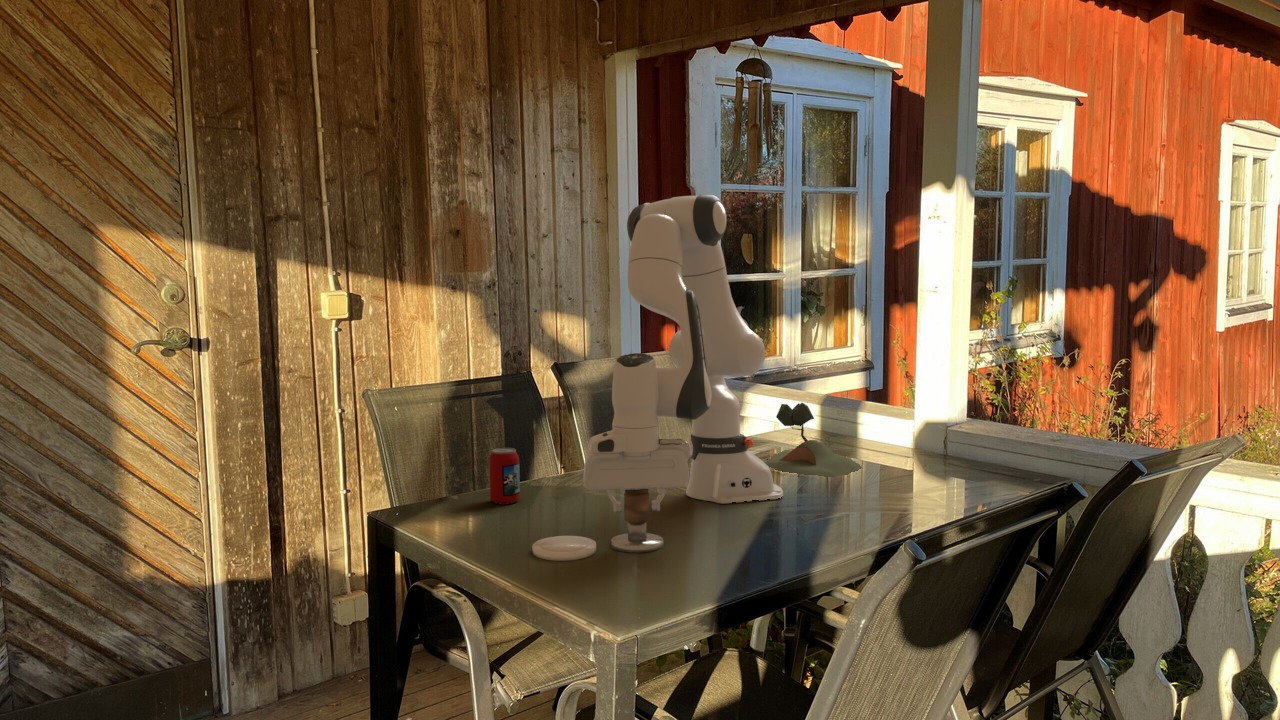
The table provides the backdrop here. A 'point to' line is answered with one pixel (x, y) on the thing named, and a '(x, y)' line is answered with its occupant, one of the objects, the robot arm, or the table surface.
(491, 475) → the beverage can
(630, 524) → the pedestal
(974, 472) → the table surface
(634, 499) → the cap
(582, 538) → the saucer
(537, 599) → the table surface
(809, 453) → the plant
